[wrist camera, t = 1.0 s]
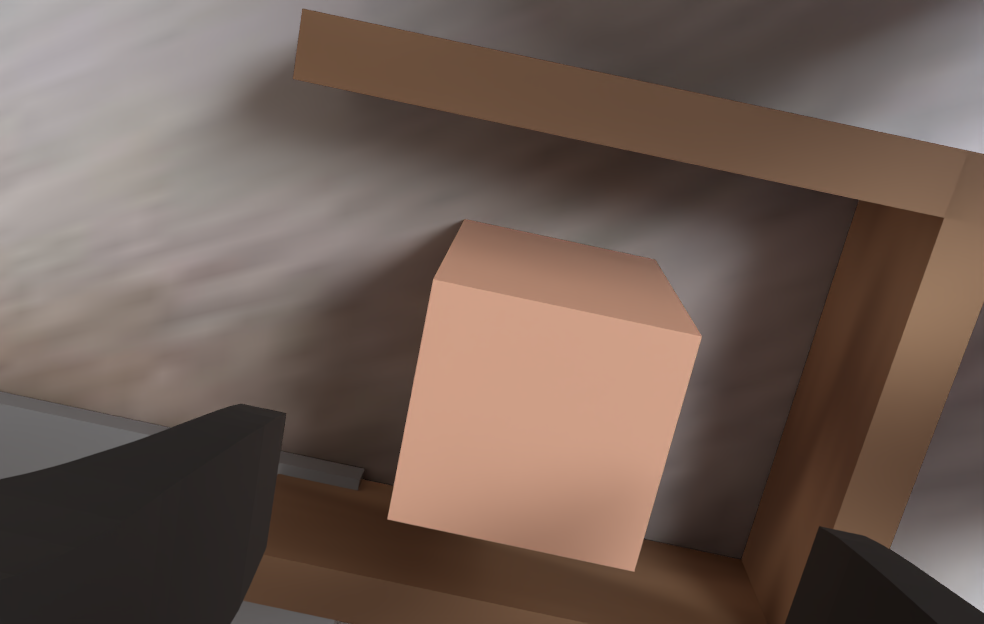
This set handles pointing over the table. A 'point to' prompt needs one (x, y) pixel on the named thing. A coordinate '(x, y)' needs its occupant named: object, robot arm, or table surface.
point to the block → (544, 396)
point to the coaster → (80, 433)
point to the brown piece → (818, 400)
